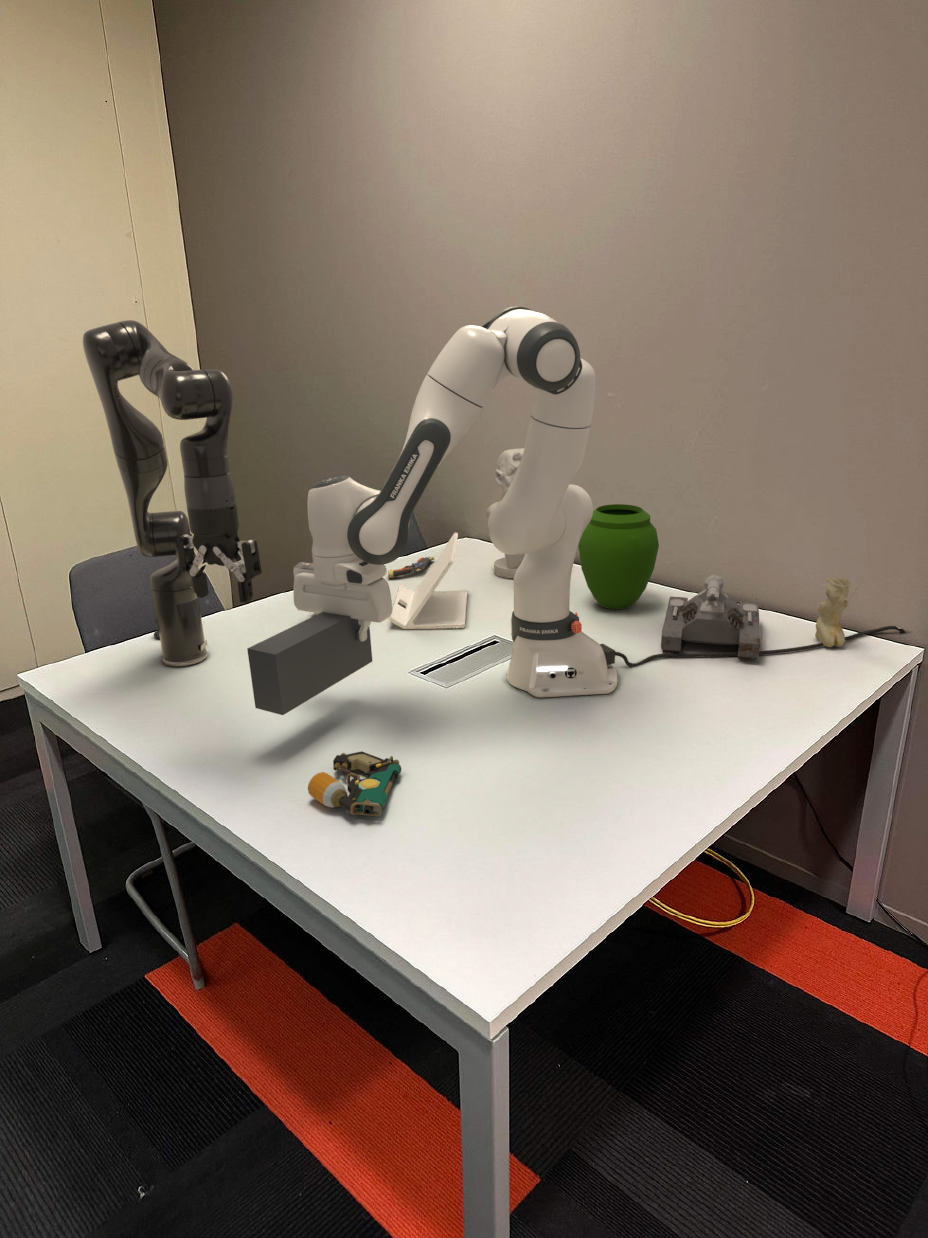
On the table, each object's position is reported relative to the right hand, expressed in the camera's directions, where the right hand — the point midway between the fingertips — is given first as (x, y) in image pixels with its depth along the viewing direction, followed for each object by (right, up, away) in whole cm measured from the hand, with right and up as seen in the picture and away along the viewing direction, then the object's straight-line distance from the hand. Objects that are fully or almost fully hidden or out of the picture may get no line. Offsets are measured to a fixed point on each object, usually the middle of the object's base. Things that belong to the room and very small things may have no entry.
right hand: (344, 637), depth 160 cm
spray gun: (+6, -24, -23) cm, 34 cm away
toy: (+78, -1, +32) cm, 84 cm away
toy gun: (+7, +17, +87) cm, 89 cm away
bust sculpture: (+39, +16, +79) cm, 90 cm away
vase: (+60, +7, +55) cm, 82 cm away
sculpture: (+102, -2, +28) cm, 106 cm away
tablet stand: (+14, +5, +54) cm, 56 cm away
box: (-4, -8, -5) cm, 11 cm away
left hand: (-17, +7, -20) cm, 27 cm away
